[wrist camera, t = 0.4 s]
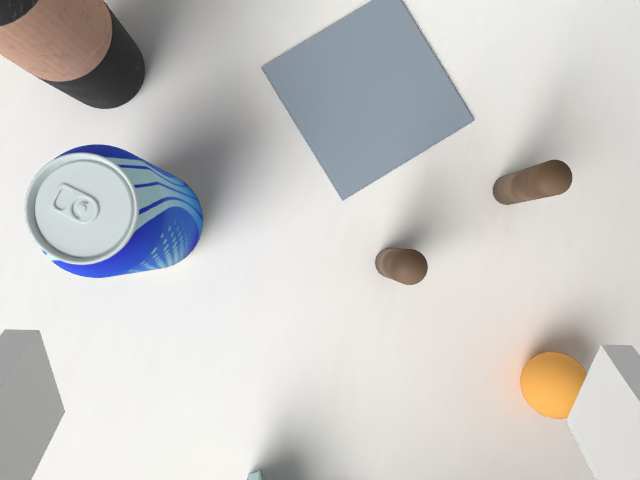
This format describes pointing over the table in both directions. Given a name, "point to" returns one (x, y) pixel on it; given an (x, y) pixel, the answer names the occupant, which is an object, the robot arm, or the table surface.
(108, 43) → the travel mug
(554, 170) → the post
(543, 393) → the ball
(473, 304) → the table surface
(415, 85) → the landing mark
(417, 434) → the table surface
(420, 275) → the post
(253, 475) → the l-shaped corner panel
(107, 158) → the beer can
